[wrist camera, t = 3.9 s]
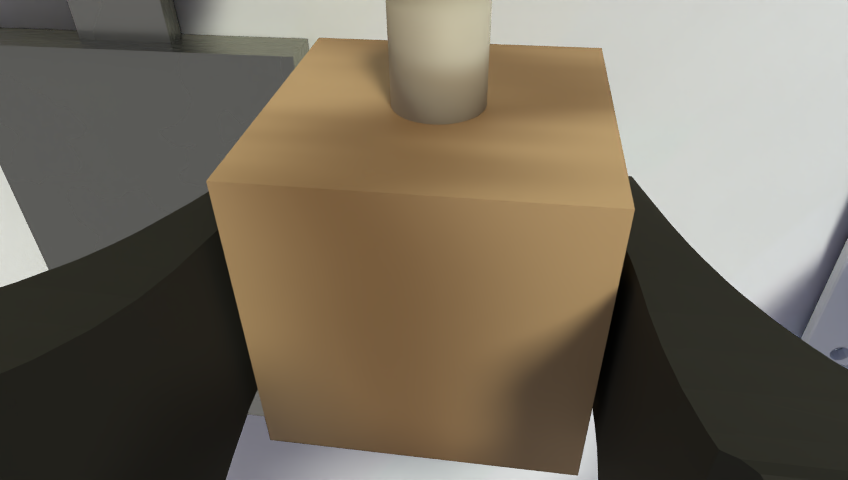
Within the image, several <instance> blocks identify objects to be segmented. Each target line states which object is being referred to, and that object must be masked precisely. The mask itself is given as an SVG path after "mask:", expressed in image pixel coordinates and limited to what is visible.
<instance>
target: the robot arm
mask: <svg viewBox="0 0 848 480" xmlns="http://www.w3.org/2000/svg"><path fill="white" fill-rule="evenodd" d="M628 179H629V183H630V188H631V193H632V198H633V203H634V208H635V211H634V216H633V220H632V225H631V230H630V234H629V239H628V244H627V248H626V253H625V258H624V262H623V267H622V272H621V276H620V281H619V286H618V290H617V295H616V300H615V304H614V309H613V314H612V318H611V323H610V328H609V332H608V337H607V342H606V346H605V351H604V356H603V360H602V365H601V370H600V374H599V379H598V384H597V388H596V393H595V398H594V402H593V407H592V408H593V415H594V422H595V432H596V442H597V458H598V480H848V369H846V368H845V367H843V366H841V365H845V366H848V239H847V241H846V243H845V245H844V247H843V249H842V252H841V254H840V256H839V258H838V260H837V262H836V264H835V267H834V269H833V271H832V273H831V275H830V277H829V279H828V282H827V284H826V286H825V288H824V290H823V292H822V295H821V297H820V299H819V301H818V303H817V305H816V307H815V310H814V312H813V314H812V316H811V318H810V320H809V322H808V325H807V327H806V329H805V331H804V333H803V335H802V337H801V339H800V338H799V337H797V336H796V335H794V334H793V333H791V332H790V331H788V330H787V329H786V328H784V327H783V326H782V325H780V324H779V323H777V322H776V321H775V320H773V319H772V318H771V317H770V316H768V315H767V314H766V313H765V312H763V311H762V310H761V309H760V308H758V307H757V306H756V305H755V304H753V303H752V302H751V301H750V300H748V299H747V298H746V297H745V296H743V295H742V294H741V293H740V292H738V291H737V290H736V289H735V288H734V287H733V286H732V285H730V284H729V283H728V282H727V281H726V280H725V279H724V278H723V277H722V276H721V275H720V274H719V273H718V272H716V271H715V270H714V269H713V268H712V267H711V266H710V265H709V264H708V263H707V262H706V261H705V260H704V259H703V258H702V257H701V256H700V255H699V254H698V253H697V252H696V251H695V250H694V249H693V248H692V247H691V246H690V245H689V244H688V243H687V242H686V240H685V239H684V238H683V237H682V236H681V235H680V234H679V233H678V232H677V231H676V229H675V228H674V227H673V226H672V225H671V224H670V223H669V221H668V220H667V219H666V218H665V217H664V215H663V214H662V213H661V212H660V211H659V209H658V208H657V207H656V206H655V205H654V203H653V202H652V201H651V200H650V198H649V197H648V196H647V195H646V193H645V192H644V191H643V190H642V189H641V187H640V186H639V185H638V184H637V182H636V181H635V180H634V179H633V178H632V176H628ZM841 347H842V348H841ZM836 348H840V349H838V350H834V349H836ZM257 390H258V388H257V384H256V380H255V376H254V372H253V368H252V364H251V360H250V356H249V352H248V348H247V344H246V340H245V335H244V331H243V327H242V323H241V319H240V315H239V311H238V307H237V303H236V299H235V295H234V291H233V287H232V283H231V279H230V275H229V271H228V267H227V263H226V259H225V255H224V251H223V247H222V243H221V239H220V235H219V231H218V227H217V223H216V219H215V215H214V211H213V207H212V203H211V199H210V194H209V191H208V192H207V193H205V194H203V195H202V196H200V197H199V198H197V199H195V200H194V201H192V202H190V203H189V204H187V205H185V206H183V207H182V208H180V209H178V210H176V211H174V212H173V213H171V214H169V215H167V216H165V217H164V218H162V219H160V220H158V221H157V222H155V223H153V224H151V225H149V226H148V227H146V228H144V229H142V230H140V231H138V232H136V233H134V234H132V235H130V236H128V237H126V238H124V239H122V240H120V241H118V242H116V243H114V244H112V245H109V246H107V247H105V248H103V249H100V250H98V251H96V252H94V253H91V254H89V255H87V256H85V257H82V258H80V259H77V260H75V261H72V262H70V263H67V264H64V265H62V266H59V267H56V268H54V269H51V270H48V271H46V272H43V273H40V274H37V275H35V276H32V277H29V278H27V279H24V280H21V281H19V282H16V283H13V284H10V285H7V286H3V287H0V480H226V477H227V474H228V470H229V467H230V464H231V461H232V458H233V455H234V452H235V449H236V446H237V443H238V440H239V437H240V435H241V432H242V429H243V426H244V423H245V420H246V417H247V414H248V411H249V409H250V406H251V404H252V402H253V399H254V397H255V394H256V392H257Z"/></svg>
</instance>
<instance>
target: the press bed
mask: <svg viewBox="0 0 848 480" xmlns="http://www.w3.org/2000/svg"><path fill="white" fill-rule="evenodd" d="M67 2H68V5H69V8H70V11H71V14H72V17H73V20H74V23H75V26H76V29H77V31H75V30H46V29H18V28H0V166H1V168H2V170H3V172H4V174H5V176H6V179H7V181H8V183H9V185H10V187H11V189H12V191H13V194H14V196H15V198H16V200H17V202H18V204H19V207H20V209H21V211H22V213H23V215H24V217H25V219H26V222H27V224H28V226H29V228H30V230H31V232H32V235H33V237H34V239H35V241H36V243H37V245H38V247H39V250H40V252H41V254H42V256H43V258H44V260H45V263H46V265H47V267H48V269H49V270H51V269H54V268H56V267H59V266H62V265H64V264H67V263H70V262H72V261H75V260H77V259H80V258H82V257H85V256H87V255H89V254H91V253H94V252H96V251H98V250H100V249H103V248H105V247H107V246H109V245H112V244H114V243H116V242H118V241H120V240H122V239H124V238H126V237H128V236H130V235H132V234H134V233H136V232H138V231H140V230H142V229H144V228H146V227H148V226H149V225H151V224H153V223H155V222H157V221H158V220H160V219H162V218H164V217H165V216H167V215H169V214H171V213H173V212H174V211H176V210H178V209H180V208H182V207H183V206H185V205H187V204H189V203H190V202H192V201H194V200H195V199H197V198H199V197H200V196H202V195H203V194H205V193H207V192H208V191H209V190H208V186H207V182H206V181H207V179H208V178H209V177H210V175H211V174H212V173H213V172H214V170H215V169H216V168H217V167H218V165H219V164H220V163H221V162H222V160H223V159H224V158H225V156H226V155H227V154H228V153H229V151H230V150H231V149H232V148H233V146H234V145H235V144H236V143H237V141H238V140H239V139H240V137H241V136H242V135H243V134H244V132H245V131H246V130H247V129H248V127H249V126H250V125H251V123H252V122H253V121H254V120H255V118H256V117H257V116H258V115H259V113H260V112H261V111H262V110H263V108H264V107H265V106H266V104H267V103H268V102H269V101H270V99H271V98H272V97H273V96H274V94H275V93H276V92H277V91H278V89H279V88H280V87H281V85H282V84H283V83H284V82H285V80H286V79H287V78H288V77H289V75H290V74H291V73H292V71H293V70H294V69H295V68H296V66H297V65H298V64H299V63H300V61H301V60H302V59H303V58H304V56H305V55H306V54H307V52H308V51H309V46H308V39H299V38H271V37H243V36H215V35H187V34H181V32H180V28H179V23H178V19H177V15H176V11H175V7H174V3H173V0H67ZM248 415H257V416H264V412H263V408H262V404H261V400H260V396H259V392H258V390H257V392H256V394H255V397H254V399H253V402H252V404H251V406H250V409H249V411H248Z"/></svg>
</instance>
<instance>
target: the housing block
mask: <svg viewBox="0 0 848 480" xmlns="http://www.w3.org/2000/svg"><path fill="white" fill-rule="evenodd" d="M491 6H492V0H386V14H387V35H388V40H363V39H335V38H319V39H318V40H317V41H316V42H315V44H314V45H313V46H312V47H311V49H310V50H309V51H308V52H307V54H306V55H305V56H304V58H303V59H302V60H301V61H300V63H299V64H298V65H297V66H296V68H295V69H294V70H293V71H292V73H291V74H290V75H289V77H288V78H287V79H286V80H285V82H284V83H283V84H282V85H281V87H280V88H279V89H278V91H277V92H276V93H275V94H274V96H273V97H272V98H271V99H270V101H269V102H268V103H267V104H266V106H265V107H264V108H263V110H262V111H261V112H260V113H259V115H258V116H257V117H256V118H255V120H254V121H253V122H252V123H251V125H250V126H249V127H248V129H247V130H246V131H245V132H244V134H243V135H242V136H241V137H240V139H239V140H238V141H237V143H236V144H235V145H234V146H233V148H232V149H231V150H230V151H229V153H228V154H227V155H226V156H225V158H224V159H223V160H222V162H221V163H220V164H219V165H218V167H217V168H216V169H215V170H214V172H213V173H212V174H211V175H210V177H209V178H208V179H207V181H206V182H207V186H208V190H209V194H210V199H211V203H212V207H213V211H214V215H215V219H216V223H217V227H218V231H219V235H220V239H221V243H222V247H223V251H224V255H225V259H226V263H227V267H228V271H229V275H230V279H231V283H232V287H233V291H234V295H235V299H236V303H237V307H238V311H239V315H240V319H241V323H242V327H243V331H244V335H245V340H246V344H247V348H248V352H249V356H250V360H251V364H252V368H253V372H254V376H255V380H256V384H257V388H258V392H259V396H260V400H261V404H262V408H263V412H264V416H265V420H266V424H267V428H268V432H269V436H270V440H276V441H285V442H294V443H302V444H311V445H319V446H328V447H337V448H345V449H354V450H362V451H371V452H380V453H388V454H397V455H405V456H414V457H423V458H431V459H440V460H449V461H457V462H466V463H474V464H483V465H492V466H500V467H509V468H517V469H526V470H535V471H543V472H552V473H560V474H569V475H578V472H579V468H580V463H581V458H582V454H583V449H584V444H585V440H586V435H587V430H588V426H589V421H590V416H591V412H592V407H593V402H594V398H595V393H596V388H597V384H598V379H599V374H600V370H601V365H602V360H603V356H604V351H605V346H606V342H607V337H608V332H609V328H610V323H611V318H612V314H613V309H614V304H615V300H616V295H617V290H618V286H619V281H620V276H621V272H622V267H623V262H624V258H625V253H626V248H627V244H628V239H629V234H630V230H631V225H632V220H633V216H634V211H635V208H634V203H633V198H632V193H631V188H630V183H629V179H628V174H627V169H626V164H625V159H624V154H623V150H622V145H621V140H620V135H619V130H618V125H617V120H616V116H615V111H614V106H613V101H612V96H611V91H610V87H609V82H608V77H607V72H606V67H605V62H604V58H603V53H602V48H581V47H554V46H526V45H499V44H490V27H491Z"/></svg>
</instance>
